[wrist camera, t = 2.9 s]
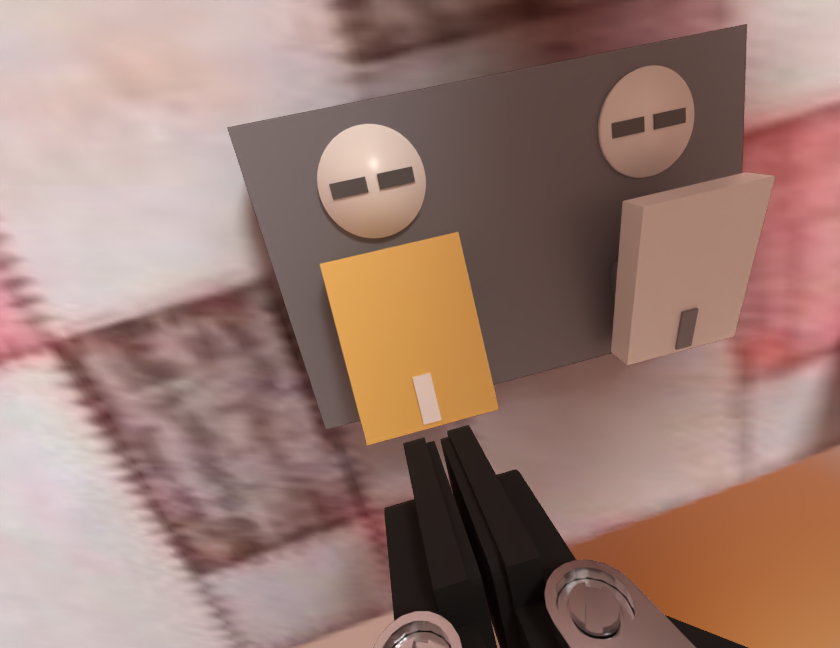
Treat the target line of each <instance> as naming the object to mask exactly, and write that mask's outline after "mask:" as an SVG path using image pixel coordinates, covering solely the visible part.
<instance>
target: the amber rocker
mask: <svg viewBox="0 0 840 648" xmlns="http://www.w3.org/2000/svg"><path fill="white" fill-rule="evenodd" d="M320 268H321V271H322V275H323V279H324V283H325V287H326V291H327V294H328V298H329V302H330V306H331V310H332V313H333V317H334V321H335V325H336V329H337V332H338V336H339V340H340V344H341V348H342V352H343V355H344V359H345V363H346V367H347V371H348V374H349V378H350V382H351V386H352V390H353V393H354V397H355V401H356V405H357V409H358V413H359V416H360V420H361V424H362V428H363V432H364V435H365V439H366V443H367V445H371V444H374V443H378V442H382V441H385V440H389V439H393V438H396V437H400V436H404V435H407V434H411V433H415V432H418V431H422V430H425V429H429V428H433V427H436V426H440V425H444V424H447V423H451V422H455V421H458V420H462V419H466V418H469V417H473V416H477V415H480V414H484V413H488V412H491V411H495V410H499V408H498V403H497V399H496V394H495V390H494V386H493V381H492V377H491V373H490V368H489V364H488V359H487V355H486V351H485V346H484V342H483V338H482V333H481V329H480V324H479V320H478V316H477V311H476V307H475V303H474V298H473V294H472V289H471V285H470V281H469V276H468V272H467V268H466V263H465V259H464V254H463V250H462V246H461V241H460V237H459V233H458V232H455V233H451V234H446V235H442V236H438V237H433V238H429V239H425V240H421V241H416V242H412V243H408V244H403V245H399V246H395V247H390V248H386V249H382V250H377V251H373V252H369V253H365V254H360V255H356V256H352V257H347V258H343V259H339V260H334V261H330V262H326V263H321V264H320Z"/></svg>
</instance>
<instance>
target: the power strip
mask: <svg viewBox="0 0 840 648" xmlns="http://www.w3.org/2000/svg"><path fill="white" fill-rule="evenodd" d="M746 37H747V24H745V25H740V26H735V27H730V28H725V29H720V30H715V31H710V32H705V33H700V34H695V35H690V36H685V37H679V38H674V39H669V40H664V41H659V42H654V43H649V44H644V45H639V46H634V47H629V48H624V49H619V50H614V51H609V52H604V53H599V54H594V55H589V56H584V57H579V58H574V59H569V60H564V61H559V62H554V63H549V64H544V65H539V66H534V67H529V68H524V69H519V70H514V71H509V72H504V73H499V74H494V75H489V76H484V77H479V78H473V79H468V80H463V81H458V82H453V83H448V84H443V85H438V86H433V87H428V88H423V89H418V90H413V91H408V92H403V93H398V94H393V95H388V96H383V97H378V98H373V99H368V100H363V101H358V102H353V103H348V104H343V105H338V106H333V107H328V108H323V109H318V110H313V111H308V112H303V113H298V114H293V115H288V116H283V117H278V118H272V119H267V120H262V121H257V122H252V123H247V124H242V125H237V126H232V127H227V128H228V131H229V135H230V138H231V141H232V144H233V147H234V150H235V153H236V156H237V159H238V162H239V165H240V168H241V171H242V174H243V177H244V180H245V184H246V187H247V190H248V193H249V196H250V199H251V202H252V205H253V208H254V211H255V214H256V217H257V220H258V223H259V226H260V229H261V232H262V236H263V239H264V242H265V245H266V248H267V251H268V254H269V257H270V260H271V263H272V266H273V269H274V272H275V275H276V278H277V281H278V284H279V288H280V291H281V294H282V297H283V300H284V303H285V306H286V309H287V312H288V315H289V318H290V321H291V324H292V327H293V330H294V333H295V336H296V340H297V343H298V346H299V349H300V352H301V355H302V358H303V361H304V364H305V367H306V370H307V373H308V376H309V379H310V382H311V385H312V389H313V392H314V395H315V398H316V401H317V404H318V407H319V410H320V413H321V416H322V419H323V422H324V425H325V428H326V429H330V428H334V427H337V426H341V425H345V424H349V423H352V422H356V421H360V416H359V413H358V409H357V405H356V401H355V397H354V393H353V390H352V386H351V382H350V378H349V374H348V371H347V367H346V363H345V359H344V355H343V352H342V348H341V344H340V340H339V336H338V332H337V329H336V325H335V321H334V317H333V313H332V310H331V306H330V302H329V298H328V294H327V291H326V287H325V283H324V279H323V275H322V271H321V268H320V264H321V263H326V262H330V261H334V260H339V259H343V258H347V257H352V256H356V255H360V254H365V253H369V252H373V251H377V250H382V249H386V248H390V247H395V246H399V245H403V244H408V243H412V242H416V241H421V240H425V239H429V238H433V237H438V236H442V235H446V234H451V233H455V232H458V233H459V237H460V241H461V246H462V250H463V254H464V259H465V263H466V268H467V272H468V276H469V281H470V285H471V289H472V294H473V298H474V303H475V307H476V311H477V316H478V320H479V324H480V329H481V333H482V338H483V342H484V346H485V351H486V355H487V359H488V364H489V368H490V373H491V377H492V381H493V385H494V384H498V383H502V382H506V381H509V380H513V379H517V378H520V377H524V376H528V375H532V374H535V373H539V372H543V371H547V370H550V369H554V368H558V367H562V366H565V365H569V364H573V363H577V362H580V361H584V360H588V359H591V358H595V357H599V356H603V355H606V354H610V353H612V352H611V346H612V333H613V320H614V307H615V295H614V294H613V292H612V289H611V286H610V282H609V273H610V269H611V267H612V265H613V264H614V263H615V262H617V261H618V255H619V242H620V229H621V216H622V203H623V201H625V200H629V199H634V198H638V197H642V196H646V195H651V194H655V193H659V192H663V191H668V190H672V189H676V188H681V187H685V186H689V185H693V184H698V183H702V182H706V181H711V180H715V179H719V178H723V177H728V176H732V175H736V174H740V173H742V164H743V132H744V101H745V69H746Z"/></svg>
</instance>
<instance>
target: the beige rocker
mask: <svg viewBox="0 0 840 648" xmlns="http://www.w3.org/2000/svg"><path fill="white" fill-rule="evenodd" d="M774 179H775V176H773V175H765V174H757V173H749V172H745V173H740V174H736V175H732V176H728V177H723V178H719V179H715V180H711V181H706V182H702V183H698V184H693V185H689V186H685V187H681V188H676V189H672V190H668V191H663V192H659V193H655V194H651V195H646V196H642V197H638V198H634V199H629V200H625V201H623V203H622V216H621V229H620V242H619V255H618V261H617V262H615V263H614V264H613V265H612V267H611V269H610V273H609V282H610V286H611V289H612V292H613V294H614V295H615V307H614V320H613V333H612V346H611V352H612V353H613V354H614V355H615V356H616V357H618V358H619V359H620V360H621V361H622V362H623V363H625V364H626V365H627V366H628V365H631V364H635V363H639V362H642V361H646V360H650V359H653V358H657V357H661V356H664V355H668V354H672V353H676V352H679V351H683V350H687V349H690V348H694V347H698V346H701V345H705V344H709V343H712V342H716V341H720V340H723V339H727V338H731V337H734V335H735V331H736V327H737V323H738V319H739V316H740V312H741V308H742V304H743V300H744V296H745V292H746V288H747V284H748V281H749V277H750V273H751V269H752V265H753V261H754V257H755V253H756V249H757V246H758V242H759V238H760V234H761V230H762V226H763V222H764V218H765V214H766V211H767V207H768V203H769V199H770V195H771V191H772V187H773V183H774Z"/></svg>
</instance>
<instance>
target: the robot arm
mask: <svg viewBox="0 0 840 648" xmlns="http://www.w3.org/2000/svg"><path fill="white" fill-rule="evenodd" d="M447 434H448V437H446V438H443V439H441V444H442V448H443V453H444V457H445V461H446V466H447V470H448V474H449V479H450V483H451V487H452V490H451V487H450V485H449V482H448V479H447V476H446V473H445V470H444V467H443V465H442V462H441V459H440V456H439V453H438V450H437V447H436V445H435V442H434V441H432V442H428V443H426V441H425V438H420V439H417V440H413V441H410V442H406V443H403V445H404V450H405V455H406V460H407V465H408V470H409V474H410V479H411V484H412V489H413V494H414V499H413V500H410V501H407V502H403V503H400V504H396V505H393V506H390V507H386V508H385V510H384V511H385V524H386V535H387V546H388V557H389V568H390V578H391V589H392V600H393V611H394V622H392V623H391V624H390V625H389V626H388V627H387V628H386V629H385V630H384V631H383V633H382V634H381V635H380V636H379V638H378V640H377V641H376V643H375V645H374V647H373V648H497V645H496V641H495V636H494V632H493V628H492V624H493V627H494V630H495V633H496V636H497V639H498V642H499V645H500V648H747V647H745V646H742V645H740V644H737V643H735V642H732V641H729V640H727V639H725V638H722V637H720V636H717V635H714V634H712V633H709V632H707V631H704V630H701V629H699V628H696V627H694V626H691V625H689V624H686V623H684V622H681V621H678V620H676V619H674V618H671V617H669V616H666V615H664V614H663V613H662V612H661V611H660V610H659V609H658V608H657V607H656V606H655V605H654V604H653V603H652V602H651V601H650V600H649V599H648V598H647V597H646V595H645V594H643V592H642V591H641V590H640V589H639V588H638V587H637V586H636V585H635V584H634V583H633V582H632V581H631V580H630V579H629V578H627V577H626V576H625V575H624V574H622V573H621V572H620V571H619V570H617V569H615V568H613V567H611V566H609V565H607V564H605V563H601V562H597V561H593V560H576V559H575V557H574V556H573V554H572V553H571V551H570V550H569V548H568V547H567V545H566V544H565V542H564V540H563V539H562V537H561V536H560V534H559V533H558V531H557V530H556V528H555V526H554V525H553V523H552V522H551V520H550V519H549V517H548V516H547V514H546V513H545V511H544V509H543V508H542V506H541V505H540V503H539V502H538V500H537V499H536V497H535V496H534V494H533V492H532V491H531V489H530V488H529V486H528V485H527V483H526V482H525V480H524V479H523V477H522V475H521V474H520V473H519V471H517V470H516V469H515V470H512V471H509V472H505V473H502V474H498V475H496V474H495V472H494V470H493V469H492V467H491V465H490V463H489V461H488V459H487V458H486V456H485V454H484V452H483V450H482V448H481V447H480V445H479V443H478V441H477V439H476V437H475V436H474V434H473V432H472V430H471V428H470V427H469V425H467V426H463V427H460V428H456V429H452V430H449V431H447ZM452 492H453V493H452ZM491 621H492V623H491Z"/></svg>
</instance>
